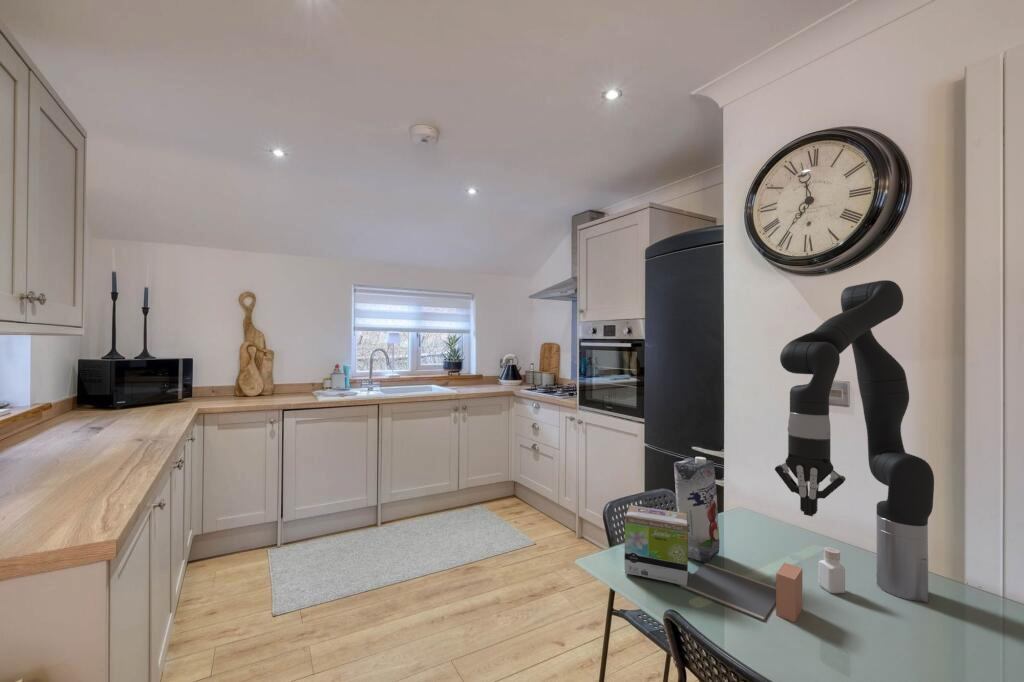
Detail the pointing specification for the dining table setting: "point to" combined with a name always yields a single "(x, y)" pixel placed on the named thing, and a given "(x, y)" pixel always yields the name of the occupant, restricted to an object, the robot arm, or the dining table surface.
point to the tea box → (656, 544)
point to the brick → (789, 592)
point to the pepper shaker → (832, 571)
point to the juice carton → (698, 506)
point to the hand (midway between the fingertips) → (808, 514)
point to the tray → (733, 590)
